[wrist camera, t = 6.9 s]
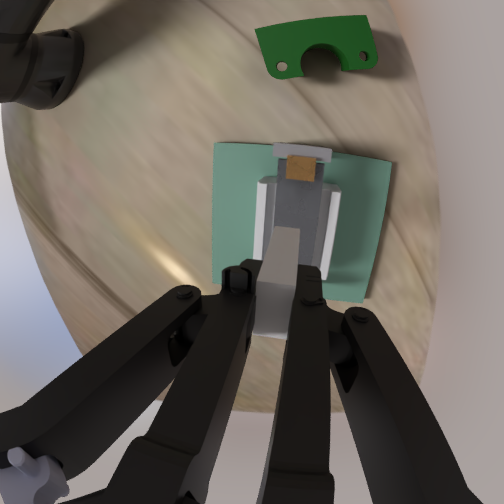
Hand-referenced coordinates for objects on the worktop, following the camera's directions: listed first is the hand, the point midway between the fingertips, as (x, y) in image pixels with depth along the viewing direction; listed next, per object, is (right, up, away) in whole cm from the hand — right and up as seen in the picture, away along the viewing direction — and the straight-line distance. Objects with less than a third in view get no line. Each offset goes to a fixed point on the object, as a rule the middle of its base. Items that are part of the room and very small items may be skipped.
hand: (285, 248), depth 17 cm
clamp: (+5, +22, +7) cm, 24 cm away
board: (+3, +3, +16) cm, 16 cm away
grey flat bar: (+2, +2, +9) cm, 10 cm away
